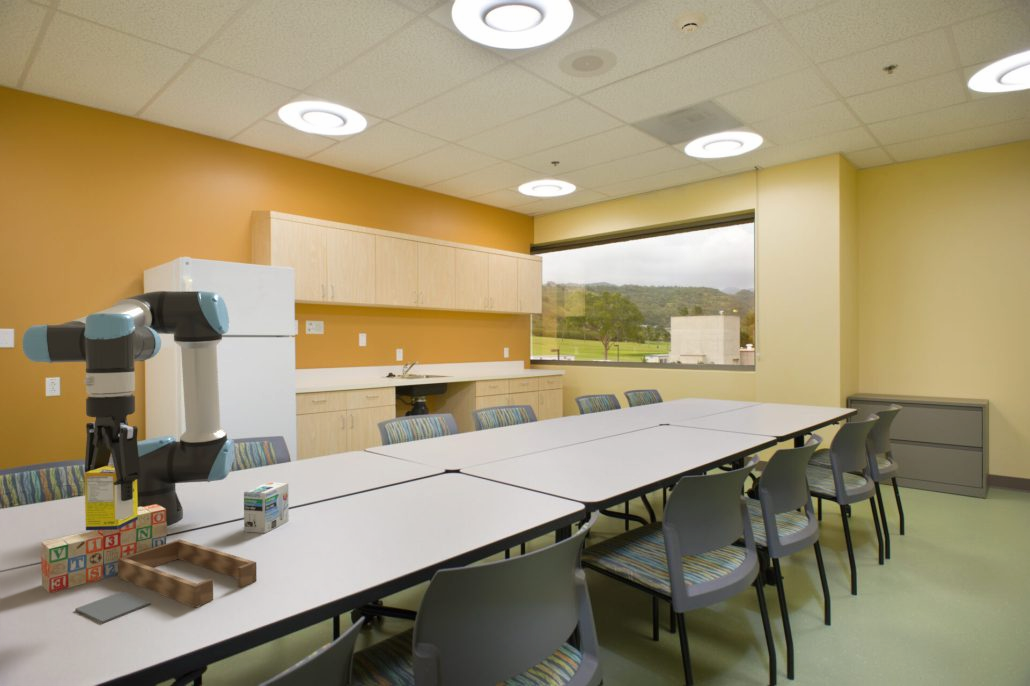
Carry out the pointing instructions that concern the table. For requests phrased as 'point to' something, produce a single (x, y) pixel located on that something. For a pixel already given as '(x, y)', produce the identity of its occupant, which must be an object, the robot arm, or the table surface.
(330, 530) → the table surface
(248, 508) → the light bulb box
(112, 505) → the supplement box
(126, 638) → the table surface
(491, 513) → the table surface
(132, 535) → the stack of blocks
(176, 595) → the open wooden frame
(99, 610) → the mat
